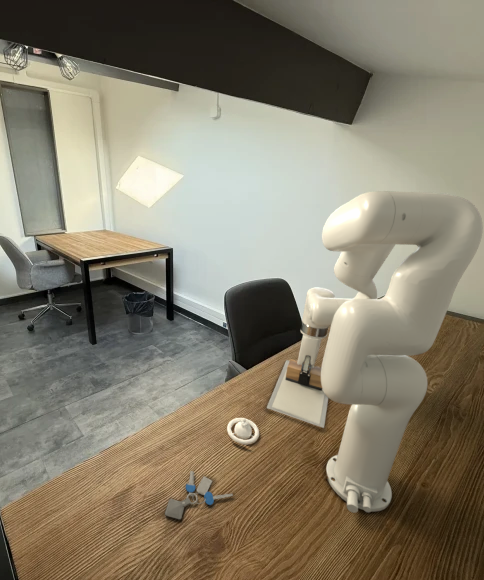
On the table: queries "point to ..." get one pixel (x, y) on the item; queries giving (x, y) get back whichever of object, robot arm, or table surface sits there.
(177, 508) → the key chain
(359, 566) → the table surface
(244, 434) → the ring around a ball
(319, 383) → the eraser
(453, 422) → the table surface
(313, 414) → the whiteboard
